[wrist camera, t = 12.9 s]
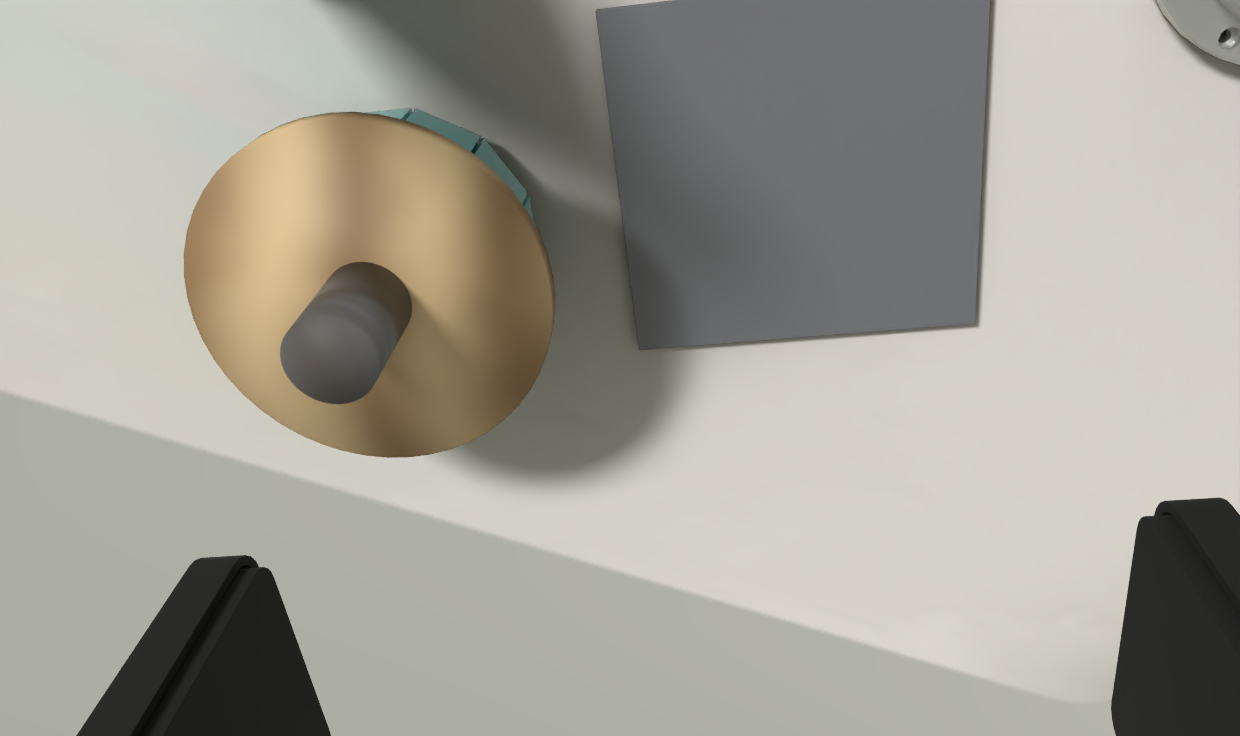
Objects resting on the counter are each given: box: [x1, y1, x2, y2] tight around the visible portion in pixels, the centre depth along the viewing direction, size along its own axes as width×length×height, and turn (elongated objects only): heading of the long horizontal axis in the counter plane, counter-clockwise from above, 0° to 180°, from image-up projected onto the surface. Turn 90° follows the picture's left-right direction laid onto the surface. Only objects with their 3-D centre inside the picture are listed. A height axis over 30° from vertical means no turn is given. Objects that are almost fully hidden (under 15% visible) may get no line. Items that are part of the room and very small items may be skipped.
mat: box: [596, 0, 990, 350], centre depth 46 cm, size 16×16×1 cm
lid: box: [184, 112, 555, 457], centre depth 39 cm, size 15×15×6 cm
